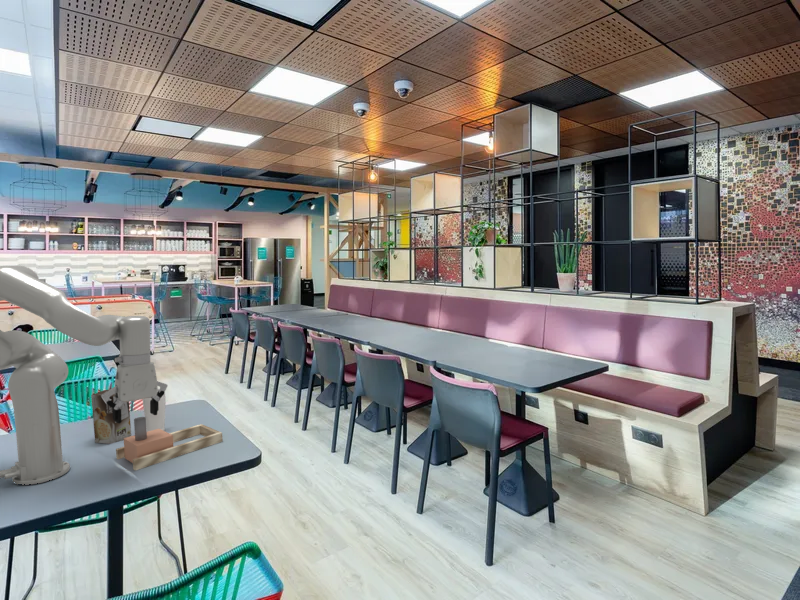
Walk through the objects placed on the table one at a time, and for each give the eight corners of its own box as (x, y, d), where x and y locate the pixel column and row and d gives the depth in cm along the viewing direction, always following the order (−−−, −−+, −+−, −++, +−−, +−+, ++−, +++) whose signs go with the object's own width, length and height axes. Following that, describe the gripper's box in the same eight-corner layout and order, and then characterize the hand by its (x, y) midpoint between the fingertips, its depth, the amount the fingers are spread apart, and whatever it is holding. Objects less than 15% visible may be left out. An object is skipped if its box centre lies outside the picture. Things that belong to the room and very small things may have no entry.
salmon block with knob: (137, 466, 130) (135, 424, 129) (124, 458, 136) (122, 418, 135) (173, 454, 138) (171, 415, 137) (160, 447, 144) (157, 409, 143)
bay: (135, 474, 128) (134, 460, 128) (116, 462, 136) (115, 448, 136) (222, 444, 148) (222, 432, 148) (201, 435, 156) (201, 424, 156)
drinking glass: (171, 431, 161) (169, 388, 159) (159, 438, 154) (157, 394, 153) (153, 430, 161) (150, 388, 160) (140, 438, 155) (137, 393, 153)
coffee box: (132, 437, 155) (129, 390, 154) (116, 445, 149) (113, 396, 147) (110, 435, 157) (106, 389, 156) (93, 442, 151) (90, 394, 150)
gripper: (106, 366, 124) (107, 428, 125) (172, 357, 137) (172, 414, 138) (96, 361, 128) (97, 422, 130) (160, 353, 142) (161, 408, 143)
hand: (136, 418), depth 134 cm, fingers open, 9 cm apart
